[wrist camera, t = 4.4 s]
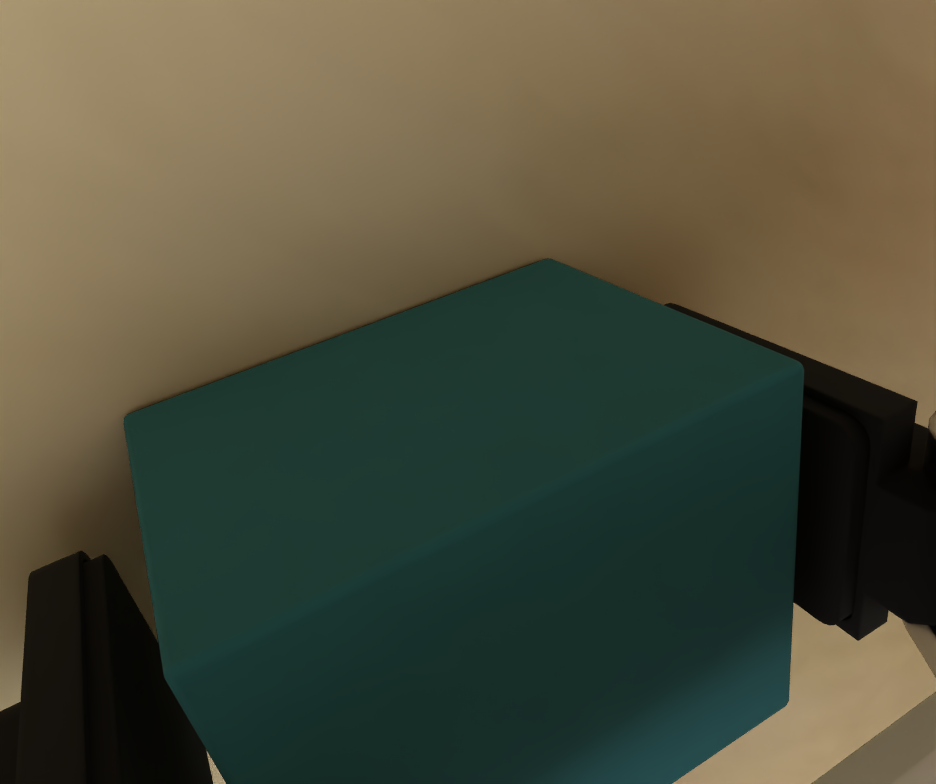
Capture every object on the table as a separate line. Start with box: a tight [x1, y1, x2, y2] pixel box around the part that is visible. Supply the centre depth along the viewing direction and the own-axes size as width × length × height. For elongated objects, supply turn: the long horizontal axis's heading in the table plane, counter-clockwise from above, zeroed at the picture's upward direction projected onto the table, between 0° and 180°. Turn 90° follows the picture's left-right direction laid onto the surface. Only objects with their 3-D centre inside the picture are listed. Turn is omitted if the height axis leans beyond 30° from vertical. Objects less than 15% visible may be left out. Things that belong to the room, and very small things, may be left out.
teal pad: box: [124, 258, 804, 784], centre depth 9 cm, size 6×5×4 cm
